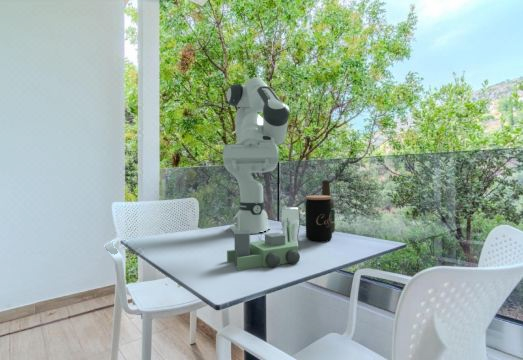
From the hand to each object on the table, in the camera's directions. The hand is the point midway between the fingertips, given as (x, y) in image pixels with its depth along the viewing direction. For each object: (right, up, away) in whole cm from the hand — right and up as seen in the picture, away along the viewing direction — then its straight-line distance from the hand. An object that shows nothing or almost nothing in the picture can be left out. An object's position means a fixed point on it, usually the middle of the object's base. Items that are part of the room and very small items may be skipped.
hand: (250, 170), depth 109 cm
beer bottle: (+34, -28, +38) cm, 58 cm away
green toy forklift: (+4, -30, -8) cm, 31 cm away
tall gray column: (-2, -30, -11) cm, 32 cm away
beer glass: (+15, -29, +9) cm, 34 cm away
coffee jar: (+28, -28, +21) cm, 45 cm away
